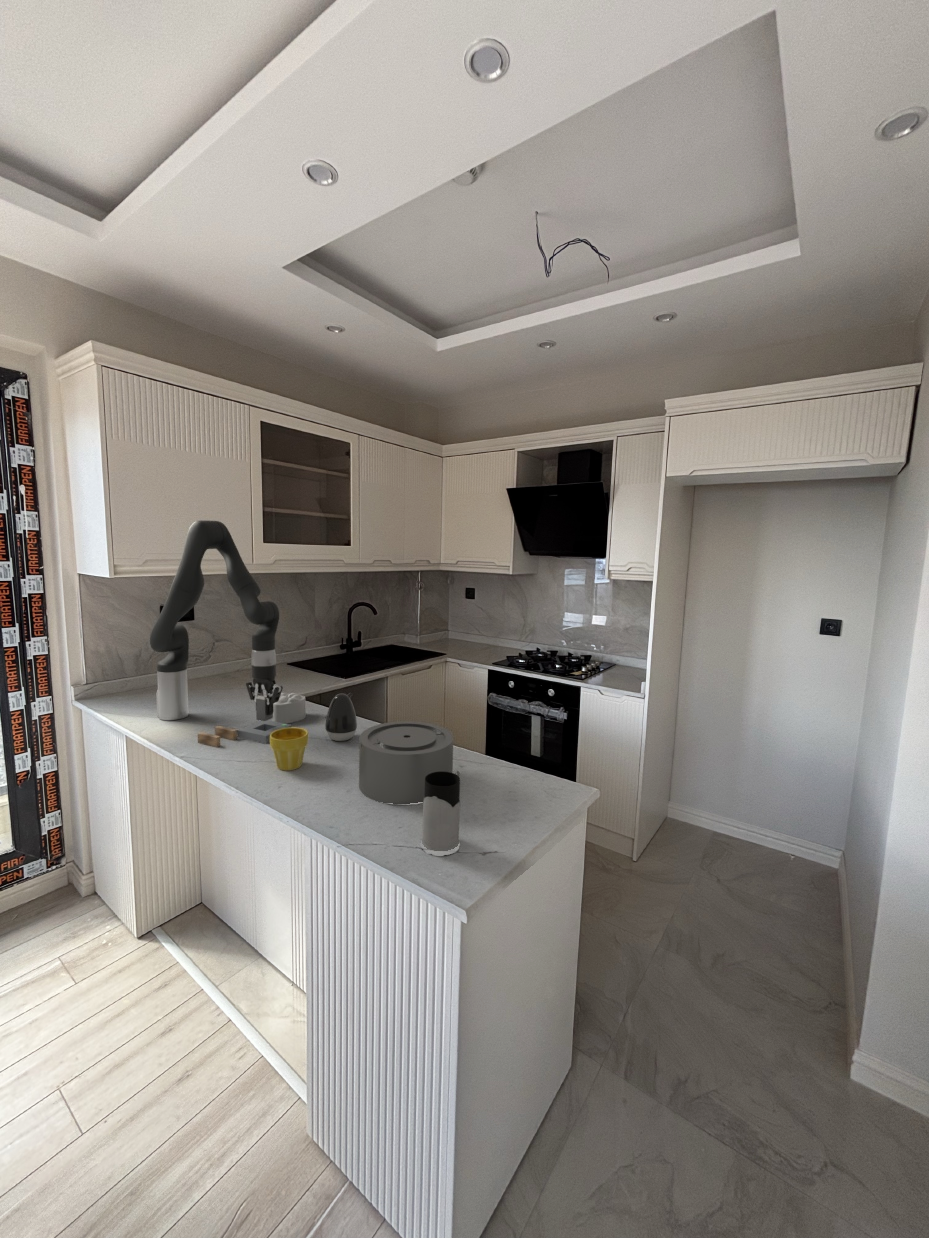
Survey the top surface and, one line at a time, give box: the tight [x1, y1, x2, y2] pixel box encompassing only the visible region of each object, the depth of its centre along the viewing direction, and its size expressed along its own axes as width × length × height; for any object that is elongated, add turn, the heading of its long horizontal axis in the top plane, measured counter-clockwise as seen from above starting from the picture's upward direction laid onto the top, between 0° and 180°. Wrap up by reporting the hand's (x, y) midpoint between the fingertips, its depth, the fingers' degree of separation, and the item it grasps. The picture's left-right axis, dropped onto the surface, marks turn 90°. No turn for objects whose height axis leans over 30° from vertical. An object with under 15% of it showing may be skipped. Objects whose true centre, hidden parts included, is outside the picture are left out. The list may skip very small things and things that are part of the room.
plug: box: [255, 694, 273, 721], centre depth 173 cm, size 4×4×8 cm
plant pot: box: [269, 726, 309, 771], centre depth 150 cm, size 10×10×10 cm
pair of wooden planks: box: [197, 725, 238, 748], centre depth 167 cm, size 8×8×3 cm
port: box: [236, 720, 293, 744], centre depth 174 cm, size 12×12×3 cm
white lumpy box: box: [269, 692, 307, 724], centre depth 191 cm, size 10×13×9 cm
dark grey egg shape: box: [324, 692, 358, 742], centre depth 172 cm, size 10×10×15 cm
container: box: [358, 720, 455, 804], centre depth 141 cm, size 25×25×13 cm
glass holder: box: [421, 769, 461, 851], centre depth 114 cm, size 9×14×15 cm, turn 159°
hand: (264, 713), depth 173 cm, fingers closed on plug, 3 cm apart
